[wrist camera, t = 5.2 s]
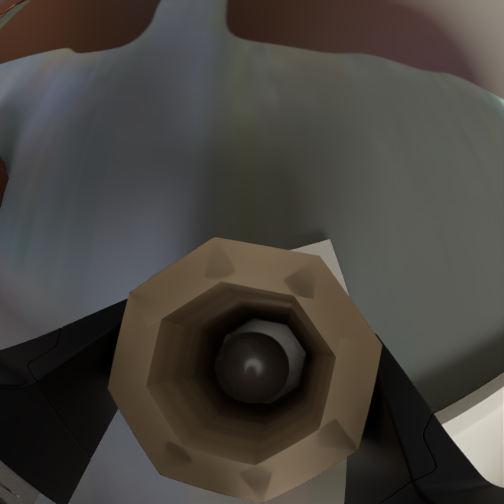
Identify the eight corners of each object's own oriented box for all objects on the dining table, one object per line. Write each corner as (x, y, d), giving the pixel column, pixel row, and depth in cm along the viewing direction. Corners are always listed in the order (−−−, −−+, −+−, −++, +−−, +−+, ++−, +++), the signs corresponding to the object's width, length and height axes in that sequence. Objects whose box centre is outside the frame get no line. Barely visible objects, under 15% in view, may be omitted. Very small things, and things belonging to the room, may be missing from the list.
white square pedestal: (194, 466, 13) (156, 510, 8) (150, 291, 16) (97, 263, 11) (380, 420, 13) (424, 449, 8) (328, 243, 16) (347, 193, 11)
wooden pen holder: (242, 441, 13) (201, 526, 5) (178, 341, 15) (79, 326, 7) (347, 376, 14) (419, 402, 6) (279, 277, 16) (276, 198, 8)
